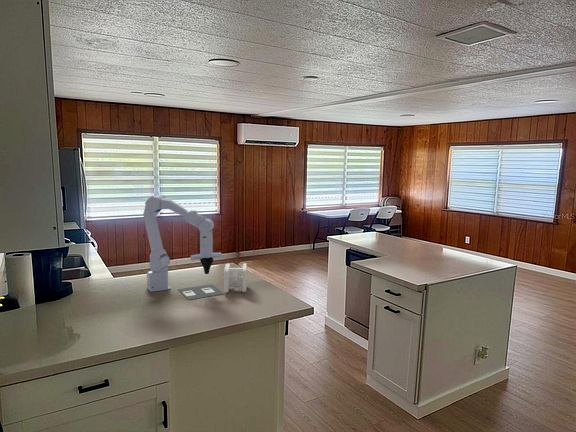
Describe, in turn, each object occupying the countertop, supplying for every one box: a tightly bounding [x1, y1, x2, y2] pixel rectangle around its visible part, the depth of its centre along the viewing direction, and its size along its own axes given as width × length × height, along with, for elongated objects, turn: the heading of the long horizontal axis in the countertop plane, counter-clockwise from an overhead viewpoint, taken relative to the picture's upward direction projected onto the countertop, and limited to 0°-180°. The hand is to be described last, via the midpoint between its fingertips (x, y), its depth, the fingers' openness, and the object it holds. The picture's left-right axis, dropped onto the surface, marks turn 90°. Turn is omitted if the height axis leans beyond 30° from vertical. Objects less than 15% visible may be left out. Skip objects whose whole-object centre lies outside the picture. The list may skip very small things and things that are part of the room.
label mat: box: [177, 283, 225, 301], centre depth 184 cm, size 17×16×1 cm
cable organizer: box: [222, 262, 248, 294], centre depth 187 cm, size 15×11×12 cm
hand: (206, 273), depth 184 cm, fingers closed
